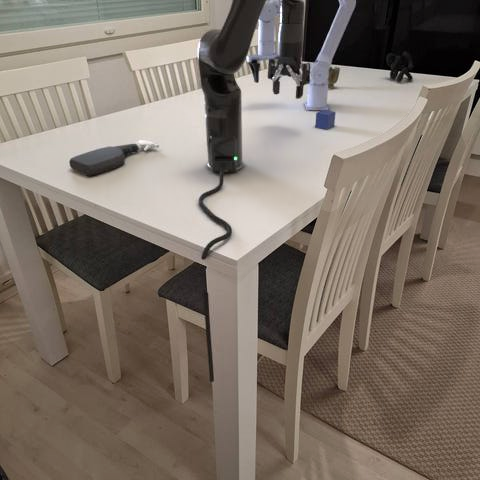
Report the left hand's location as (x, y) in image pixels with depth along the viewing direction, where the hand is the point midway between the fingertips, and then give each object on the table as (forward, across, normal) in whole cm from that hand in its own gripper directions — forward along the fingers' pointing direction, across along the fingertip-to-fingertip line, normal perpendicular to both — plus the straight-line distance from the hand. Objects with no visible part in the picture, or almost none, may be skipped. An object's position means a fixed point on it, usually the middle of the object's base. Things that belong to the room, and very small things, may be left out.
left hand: (287, 96), depth 139 cm
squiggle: (+9, +1, -88) cm, 88 cm away
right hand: (+1, +22, -16) cm, 27 cm away
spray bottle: (+12, +21, +50) cm, 56 cm away
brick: (+10, -8, -10) cm, 17 cm away
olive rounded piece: (+10, +18, -56) cm, 60 cm away
